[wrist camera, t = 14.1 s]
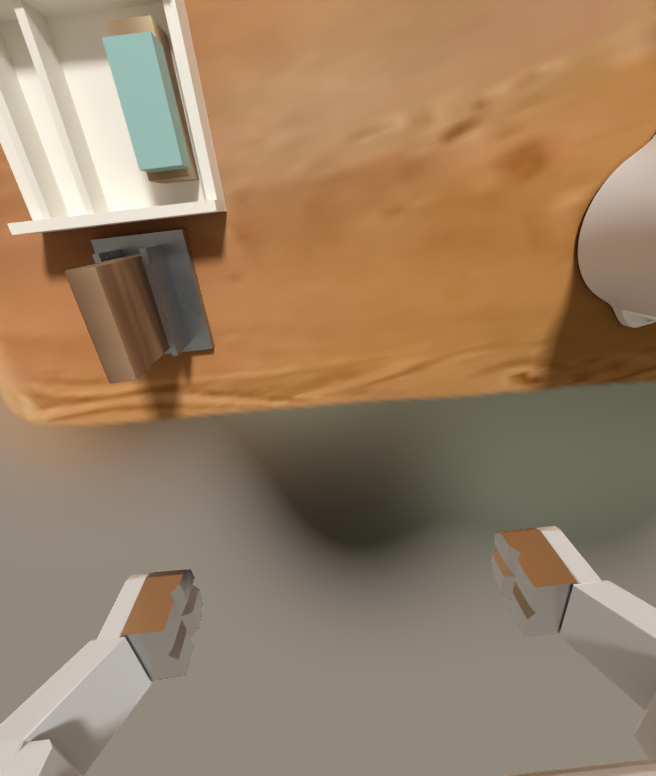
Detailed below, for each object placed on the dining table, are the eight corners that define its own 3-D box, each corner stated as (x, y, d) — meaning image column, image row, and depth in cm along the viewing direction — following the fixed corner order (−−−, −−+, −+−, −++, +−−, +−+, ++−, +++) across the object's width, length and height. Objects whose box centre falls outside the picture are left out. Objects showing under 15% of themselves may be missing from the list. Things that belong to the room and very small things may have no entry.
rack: (182, -7, 26) (162, -43, 22) (226, 211, 32) (216, 210, 28) (-41, 19, 26) (-98, -12, 22) (45, 232, 32) (12, 234, 28)
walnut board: (154, 252, 32) (94, 267, 23) (179, 338, 36) (136, 380, 27) (132, 254, 32) (64, 270, 23) (159, 340, 36) (109, 383, 27)
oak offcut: (167, 35, 26) (150, 15, 23) (199, 179, 30) (188, 176, 27) (125, 40, 26) (104, 20, 23) (163, 184, 30) (148, 180, 27)
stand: (184, 228, 32) (165, 231, 28) (214, 346, 37) (201, 363, 33) (95, 239, 32) (62, 243, 28) (136, 355, 37) (113, 373, 33)
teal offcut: (162, 45, 24) (150, 31, 22) (190, 168, 27) (182, 164, 25) (117, 50, 24) (101, 37, 22) (150, 172, 27) (139, 169, 25)
